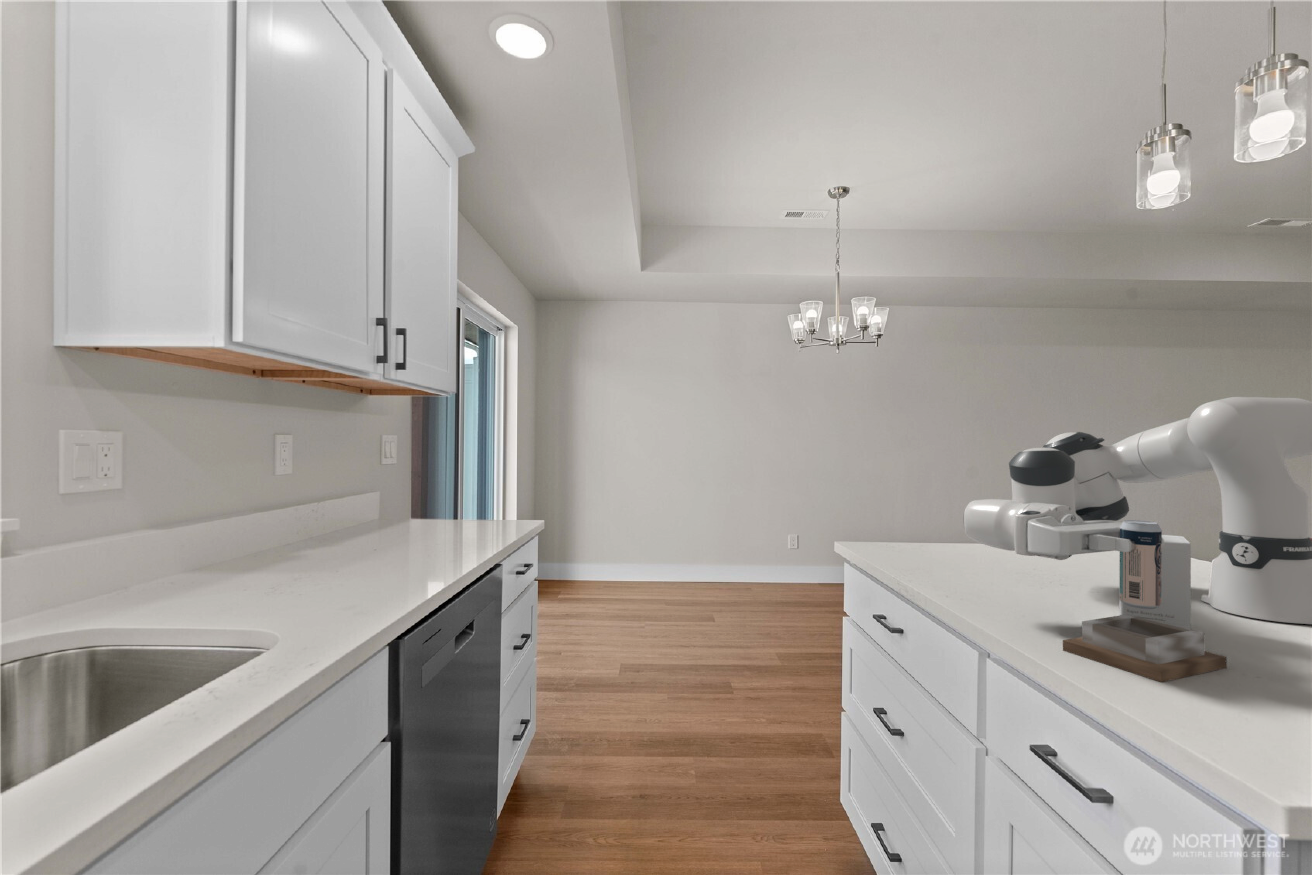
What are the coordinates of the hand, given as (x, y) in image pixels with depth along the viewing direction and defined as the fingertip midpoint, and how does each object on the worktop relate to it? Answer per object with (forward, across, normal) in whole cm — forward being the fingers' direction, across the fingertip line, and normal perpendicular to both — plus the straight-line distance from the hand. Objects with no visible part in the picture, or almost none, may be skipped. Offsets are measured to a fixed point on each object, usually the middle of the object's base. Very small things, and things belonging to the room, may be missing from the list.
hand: (1146, 544), depth 87 cm
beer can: (-1, 0, -9) cm, 9 cm away
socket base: (-1, 0, -16) cm, 16 cm away
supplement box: (-11, -20, -17) cm, 28 cm away
